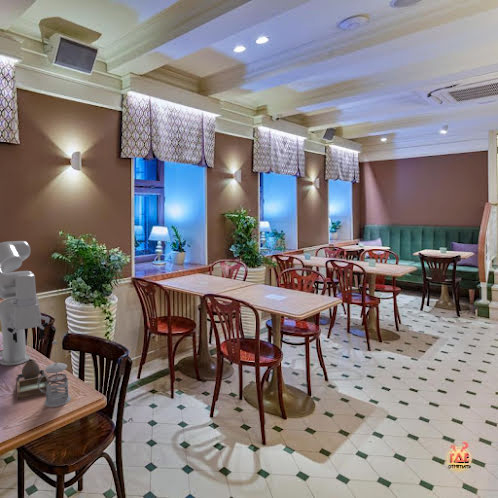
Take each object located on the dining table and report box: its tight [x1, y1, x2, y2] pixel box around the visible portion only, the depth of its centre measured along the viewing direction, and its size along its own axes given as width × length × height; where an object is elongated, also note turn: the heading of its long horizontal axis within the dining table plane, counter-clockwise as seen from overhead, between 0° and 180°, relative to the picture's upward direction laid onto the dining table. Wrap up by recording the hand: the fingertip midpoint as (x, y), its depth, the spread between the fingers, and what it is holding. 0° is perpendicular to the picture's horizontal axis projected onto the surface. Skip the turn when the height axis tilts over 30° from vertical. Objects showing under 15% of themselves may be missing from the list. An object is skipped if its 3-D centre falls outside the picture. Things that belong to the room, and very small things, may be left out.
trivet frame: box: [17, 369, 45, 381], centre depth 169 cm, size 10×10×1 cm
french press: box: [37, 340, 72, 408], centre depth 149 cm, size 10×12×25 cm
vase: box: [21, 358, 41, 380], centre depth 169 cm, size 7×7×9 cm
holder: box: [16, 374, 51, 401], centre depth 159 cm, size 12×12×3 cm
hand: (28, 339), depth 167 cm, fingers open, 9 cm apart
